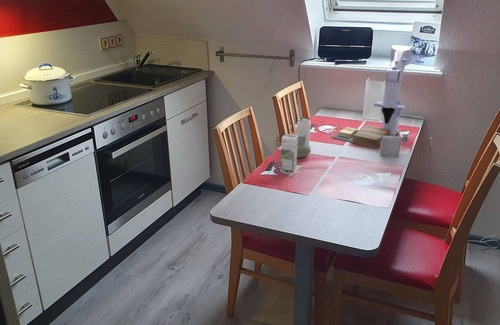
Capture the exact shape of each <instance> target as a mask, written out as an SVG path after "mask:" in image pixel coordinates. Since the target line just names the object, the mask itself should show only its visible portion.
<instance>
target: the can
mask: <svg viewBox="0 0 500 325" xmlns="http://www.w3.org/2000/svg"><path fill="white" fill-rule="evenodd" d="M297 119H298V120H297V122H296V132H295V133H304V134H305V135H306V140H305V143H307V144H308V145H309V144H310V143H311V142H310V139H311V126H312V125H311V119H310V118H308V117H299V118H297Z"/></svg>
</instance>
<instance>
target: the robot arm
mask: <svg viewBox="0 0 500 325" xmlns="http://www.w3.org/2000/svg"><path fill="white" fill-rule="evenodd" d="M412 55H413V46H412V45H410V46H408V45H395V44H393V45H392V46H391V48H390V65H389V68H388V70H386V72H385V78H384V79H385V81H384V96H383V100H382V101H374V102H373V107H374V108H375V107H379V108H381V109H380V114H381V115H382V116H383V117H382V125H381V128H384V129H389V130H390V136H396V134H397V133H399V132H400V129H399V124H400V117H401V116H402V113H403V112H404V111H405V110H406V106H404V100H402V99H401V98H400V96H399V95H400V90H401V84H402V80H403V74H404V70H405V68H406V67H407V66H408V65H410V63H411V59H412Z"/></svg>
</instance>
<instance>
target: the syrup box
mask: <svg viewBox="0 0 500 325" xmlns="http://www.w3.org/2000/svg"><path fill="white" fill-rule="evenodd" d="M297 147H298V135H293V134H291V133H290V134H288V133H284V134H283V135H282V137H281V148H280V149H281V150H280V171H287V172H295V170H296V168H297V164H298V163H297V162H298V161H297V160H298V158H297Z"/></svg>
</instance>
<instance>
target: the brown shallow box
mask: <svg viewBox="0 0 500 325" xmlns="http://www.w3.org/2000/svg"><path fill="white" fill-rule="evenodd" d="M382 136H391V135H390V130H389V129H384V128H382V127H378V126H373V125H368V124H367V125H366V126H364V127H362V128H361V129H360V131H358V132H357V133H355V134H354V135H353V141H352V142H353V144H356V143H357V145H362V146H365V145H366V146H365V147H369V148H374V147H375V148H374V149H376V148H378V147H380V146H381V145H380V144H381V139H382ZM352 142H351V143H352Z"/></svg>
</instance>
